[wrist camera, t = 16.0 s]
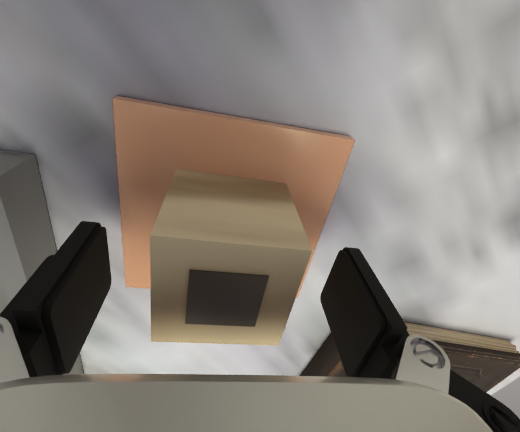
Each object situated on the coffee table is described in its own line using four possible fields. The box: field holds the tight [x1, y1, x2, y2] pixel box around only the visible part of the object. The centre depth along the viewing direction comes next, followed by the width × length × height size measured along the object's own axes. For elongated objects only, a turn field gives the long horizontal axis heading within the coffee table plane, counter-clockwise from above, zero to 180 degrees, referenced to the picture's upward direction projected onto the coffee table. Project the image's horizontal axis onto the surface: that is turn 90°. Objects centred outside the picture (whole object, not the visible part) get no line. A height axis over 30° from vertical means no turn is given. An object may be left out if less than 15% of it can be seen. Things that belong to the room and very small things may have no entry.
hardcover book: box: [300, 322, 520, 392], centre depth 27 cm, size 16×23×2 cm
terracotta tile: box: [112, 96, 355, 298], centre depth 15 cm, size 10×10×1 cm
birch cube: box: [150, 168, 312, 345], centre depth 12 cm, size 5×5×5 cm
